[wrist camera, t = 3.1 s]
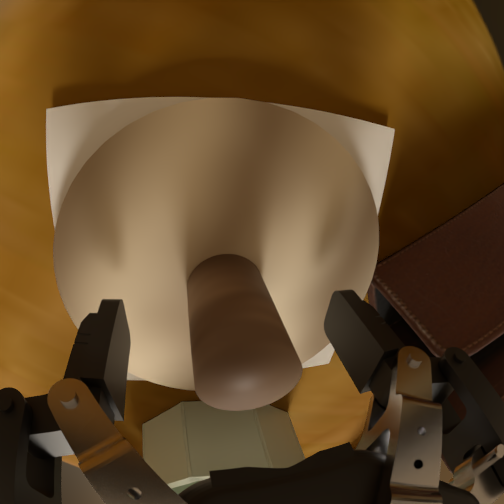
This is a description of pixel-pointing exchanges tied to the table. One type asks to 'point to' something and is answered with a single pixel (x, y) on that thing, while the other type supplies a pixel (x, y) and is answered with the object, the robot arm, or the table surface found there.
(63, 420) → the robot arm
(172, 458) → the bowl
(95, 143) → the mat
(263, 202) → the lid
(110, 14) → the table surface
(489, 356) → the letter holder
